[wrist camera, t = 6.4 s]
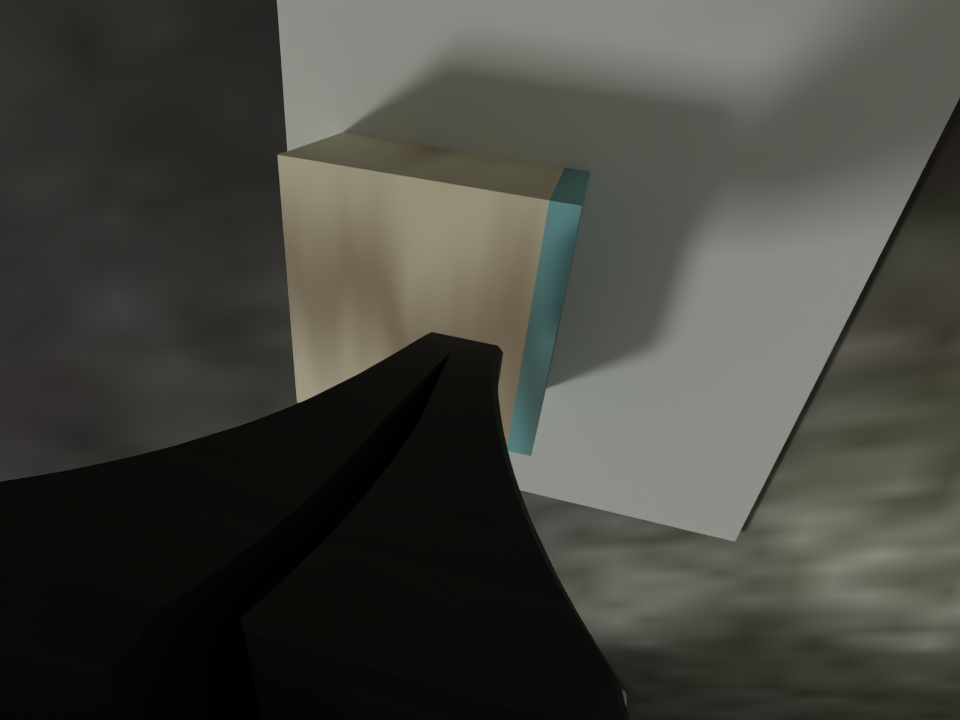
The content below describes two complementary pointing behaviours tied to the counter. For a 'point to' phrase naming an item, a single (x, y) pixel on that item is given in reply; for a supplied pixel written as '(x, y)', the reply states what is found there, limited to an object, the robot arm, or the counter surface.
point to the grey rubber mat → (663, 200)
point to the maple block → (427, 260)
